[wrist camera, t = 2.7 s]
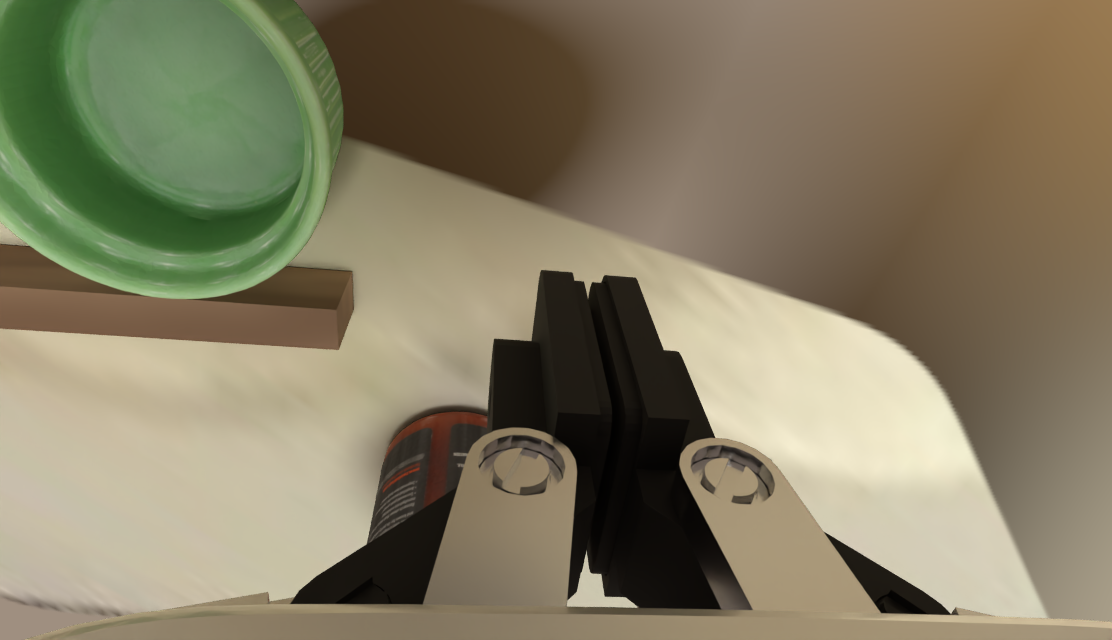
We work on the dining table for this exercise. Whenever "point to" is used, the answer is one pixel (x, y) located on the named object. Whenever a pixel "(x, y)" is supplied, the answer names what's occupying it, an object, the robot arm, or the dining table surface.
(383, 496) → the supplement bottle
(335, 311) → the walnut track
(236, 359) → the dining table surface
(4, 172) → the ramekin
